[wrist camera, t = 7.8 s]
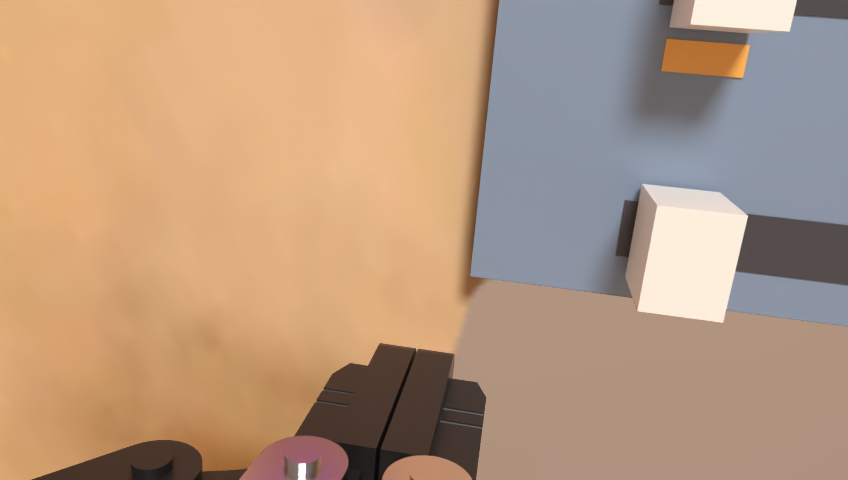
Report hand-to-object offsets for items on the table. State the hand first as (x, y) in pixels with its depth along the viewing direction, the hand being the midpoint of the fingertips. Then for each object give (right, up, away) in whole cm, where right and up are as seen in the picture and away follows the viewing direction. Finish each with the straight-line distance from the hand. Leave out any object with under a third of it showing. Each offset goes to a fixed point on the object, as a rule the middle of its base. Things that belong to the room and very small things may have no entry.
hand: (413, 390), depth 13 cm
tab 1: (+10, +3, +14) cm, 17 cm away
